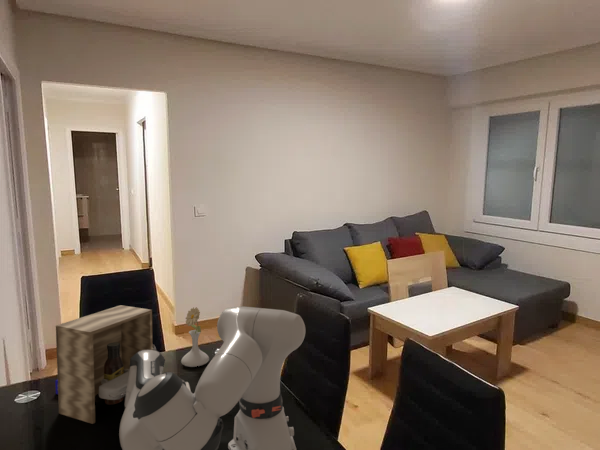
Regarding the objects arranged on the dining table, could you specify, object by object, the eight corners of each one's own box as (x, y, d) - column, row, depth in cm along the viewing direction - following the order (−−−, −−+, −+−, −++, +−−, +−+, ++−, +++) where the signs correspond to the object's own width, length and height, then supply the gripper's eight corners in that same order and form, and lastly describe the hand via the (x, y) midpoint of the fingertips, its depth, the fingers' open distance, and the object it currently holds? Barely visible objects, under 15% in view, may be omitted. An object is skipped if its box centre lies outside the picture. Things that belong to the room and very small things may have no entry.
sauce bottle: (119, 406, 134) (117, 348, 133) (100, 405, 135) (98, 347, 133) (127, 396, 141) (126, 341, 139) (110, 395, 141) (108, 340, 140)
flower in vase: (179, 360, 171) (178, 303, 169) (206, 356, 176) (205, 300, 174) (184, 373, 159) (183, 311, 157) (212, 368, 164) (212, 308, 162)
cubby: (153, 387, 148) (151, 309, 146) (92, 423, 124) (89, 332, 122) (122, 379, 154) (120, 305, 151) (58, 413, 130) (55, 325, 127)
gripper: (118, 408, 123) (85, 399, 128) (164, 380, 142) (134, 373, 147) (117, 388, 122) (85, 380, 128) (164, 363, 141) (134, 356, 146)
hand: (111, 376), depth 137 cm, fingers closed on sauce bottle, 6 cm apart
